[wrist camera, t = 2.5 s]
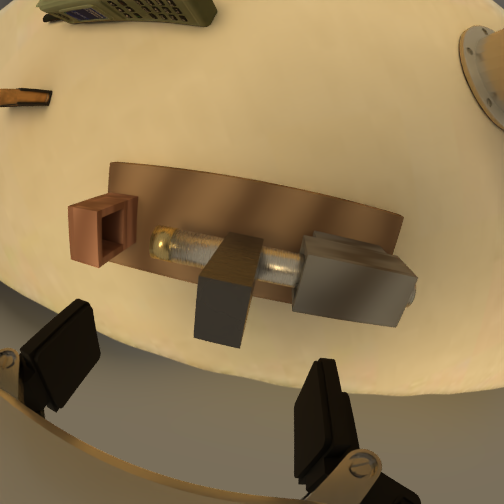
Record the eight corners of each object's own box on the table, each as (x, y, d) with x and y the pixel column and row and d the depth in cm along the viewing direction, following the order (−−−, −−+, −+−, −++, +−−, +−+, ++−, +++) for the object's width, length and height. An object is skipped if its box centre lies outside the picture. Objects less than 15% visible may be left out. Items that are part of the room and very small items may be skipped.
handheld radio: (207, 32, 18) (46, 31, 17) (221, 7, 17) (57, 11, 16) (184, -3, 11) (13, 20, 11) (204, -32, 10) (26, -2, 10)
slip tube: (409, 265, 19) (461, 322, 11) (394, 303, 20) (432, 370, 12) (164, 214, 20) (101, 251, 12) (162, 257, 21) (106, 310, 13)
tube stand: (399, 214, 21) (438, 239, 15) (365, 311, 25) (386, 359, 18) (115, 161, 22) (65, 169, 16) (113, 257, 26) (71, 287, 19)
